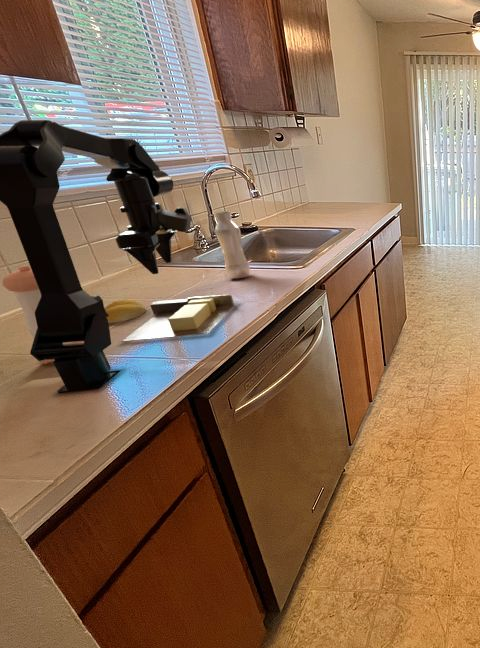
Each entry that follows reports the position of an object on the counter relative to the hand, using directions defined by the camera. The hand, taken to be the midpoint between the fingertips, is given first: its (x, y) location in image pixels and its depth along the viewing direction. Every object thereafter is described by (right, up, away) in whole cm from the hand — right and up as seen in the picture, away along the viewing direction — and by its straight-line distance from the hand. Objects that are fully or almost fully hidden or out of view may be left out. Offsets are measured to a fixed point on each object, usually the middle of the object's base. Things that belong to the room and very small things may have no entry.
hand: (162, 267), depth 95 cm
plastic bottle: (0, 0, +30) cm, 30 cm away
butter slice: (+7, -10, +4) cm, 13 cm away
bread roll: (-12, -12, +4) cm, 17 cm away
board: (+5, -13, 0) cm, 14 cm away
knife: (+4, -10, +6) cm, 12 cm away
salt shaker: (-8, -20, -13) cm, 25 cm away
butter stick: (+8, -13, -2) cm, 15 cm away
